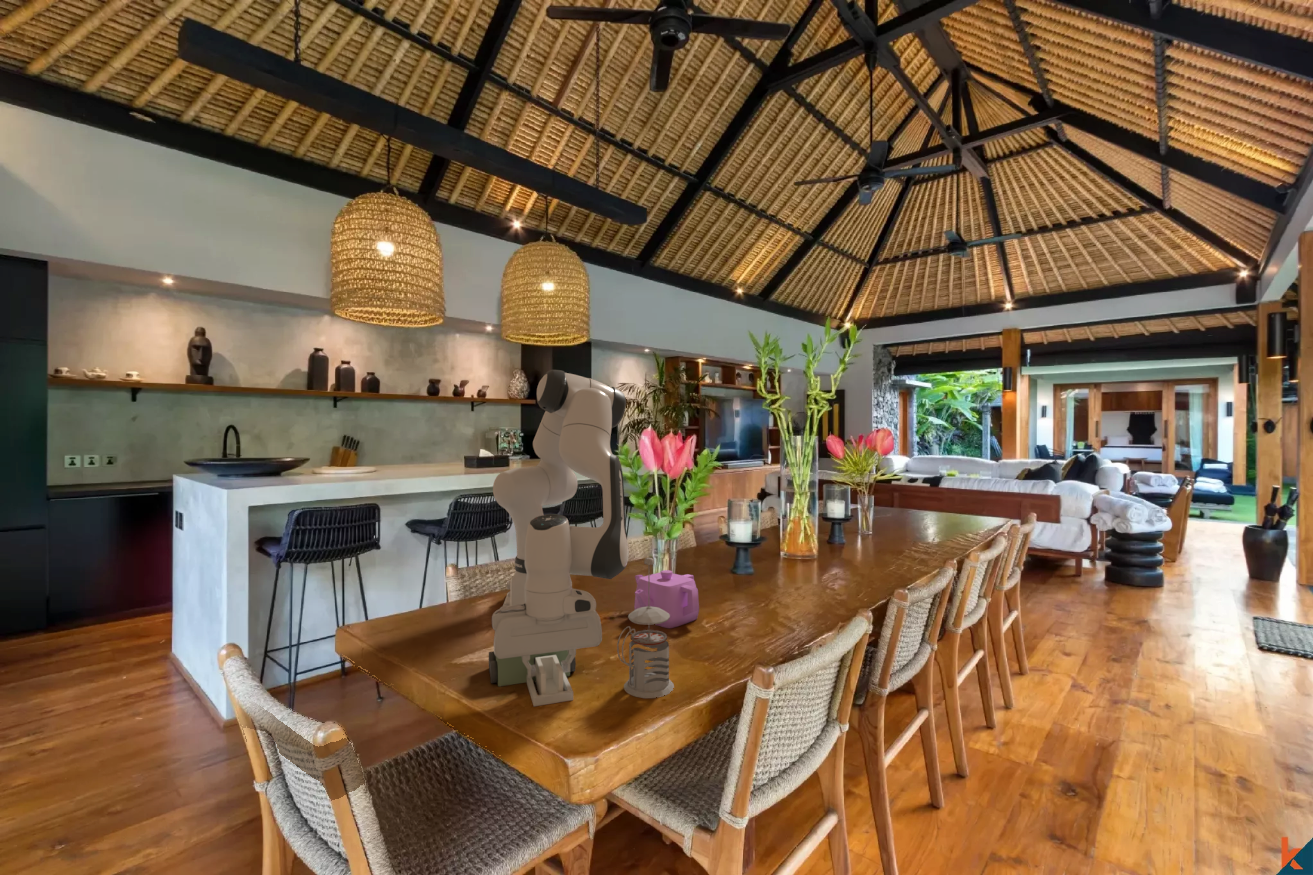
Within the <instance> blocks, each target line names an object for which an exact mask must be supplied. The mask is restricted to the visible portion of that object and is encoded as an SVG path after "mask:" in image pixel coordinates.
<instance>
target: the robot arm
mask: <svg viewBox="0 0 1313 875" xmlns="http://www.w3.org/2000/svg"><path fill="white" fill-rule="evenodd" d="M536 402H537V404H538V406H539V408H540V409H541V410H544V411H545V412H544V414H543V415H542V418H541V422H540V423H539V426H538V428H537V431H536V433H535V436H534V438H533V441H532V448H533V450H534V453H535V455H536V456H537V457H538V458H539V459H540V461H539V462H538V464H537V465H536V466H525V467H514V468H511V469H507V470H505V471H501V472H500V473H499V474H497V476H496V477H495V479H494V482H493V485H492V493H493V497H494V499H495V501H496V503H497V504H498V505H499V506H500V507H501V508H503V509H505V511H506V512H507V513H508V514H509V516H510V517H511V518H510V519H511V520H512V522H513V525H514V529H515V539H516V556H515V557H514V558H515V559H514V570H515V572H514V574H513V576H512V577H511V579H510V580H507V581H506V589H507V590H510V591H508V592H507V594H506V597H505V599H504V602H503V605H502V606H500V608H499V609H497V610H495V611H494V612H493V613H492V615H491V627H492V629H493V630H494V637H493V651H494V654H495V656H496V657H497V658H498V659H504V658H512V657H519V656H521V658H522V662H523V663H524V665H525V666H526V668H527V676H528V678H531V677H536V667H535V665H530V663H529V662H528V661H529V660H530V655H534V654H542V653H549V652H557V651H564V650H567V652H568V656H567V657H566V659H565V660H564V661H561V665H562V666H561V667H562V670H563V673H565V672H570V663H571V662H572V660H573V659H574V657H575V658H576V655H577V650H578V649H584V648H593V647H598V646H599V645H600V644H601V643H602V641H603V631H602V623H601V617H600V615H599V613H598V612H597V611H596V610H597V602H596V599H595V598H594V596H593V595H592V594H591V593H589V592H588V591H585V590H582V589H577V588H573V582H572V579H571V575H576V576H589V577H595V578H599V579H606V580H612V579H613V578H615V577H617V576H618V575H619V574H621V573H622V572H623V571H624V570H625V569H626V567H627V565H628V561H629V544H628V537H627V536H628V535H627V527H626V507H625V486H624V475H623V468H622V463H621V461H620V458H619V457H618V456H617V455H615V454H613V452H612V448H611V437H612V436H611V434H612V429H613V428H615V427H617V426H618V425H619V424H620V423H621V422H622V420H623V418H624V417H625V416H624V415H625V412H626V409H627V408H626V406H627V399H626V395H625V393H624V392H623V391H621V390H619V389H618V388H616V387H614V386H610V385H607V384H605V383H604V382H601V381H598V380H597V379H593V378H590V377H585V376H581V375H578V374H573V373H570V372H569V373H567V372H565V371H564V370H560V369H550V370H548V371H546V372H545V373H544V374H543V377H542V378H541V379H540V380H539V382H538V385H537V388H536ZM575 473H577V474H578V475H581V476H583V477H585V478H587V479H589V480H592V481H595V482H596V483H597V484H599V485H601V486H600V487H601V489H602V514H603V515H602V516H603V517H602V518H603V520H602V521H603V523H602V524H601V525H600V526H598V527H597V526H596V527H592V526H591V527H590V526H576V525H570V524H569V523H570V522H569V520H568V518H567V517H566V516H565V515H562V514H556V513H548V514H544V511H543V506H550V505H556V504H560V503H563V502H565V501H568V500H570V499H572V498H573V497H574V496H575V494H576V493H577V490H578V484H579V483H578V482H579V481H578V477H577V475H576V474H575ZM570 673H571V672H570Z"/></svg>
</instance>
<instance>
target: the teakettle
mask: <svg viewBox="0 0 1313 875" xmlns="http://www.w3.org/2000/svg"><path fill="white" fill-rule="evenodd" d="M634 578H635V582H636V590H635V592H634V595H635V597H634V607H633V608H634V610H635V609H638V608H641V607H647V606H648V575H644V576H643V574H637V575H635V576H634ZM699 604H700V602H699V590H698V588H697V584H696V581H695V576H694V575H693V574H688V573H687V574H677V573H673V571H672V570H669V569H664V570H661V571H660V572H655V573H652V574H650V585H649V606H651V607H658V608H660V609H662V610H664V611H666V612H667V613H669V615H670V618H669V619H668V620H667V621H666V622H663V623H660V624H655V626H658V627H662V628H665V629H673V628H677V627H680V626H683V625H686V624H688V623H689V624H690V623H691V622H693V621H695V620H697V619H698V617H699V612H700V605H699Z"/></svg>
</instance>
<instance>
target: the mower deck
mask: <svg viewBox="0 0 1313 875" xmlns="http://www.w3.org/2000/svg"><path fill="white" fill-rule="evenodd" d="M550 655H556V656H557V658H558V661H559V663H560V665H561V661H564V660H565V659H566V657H567V656H568V652H567V650H564V651H557V652H549V653H542V654H534V655H530V660H529V661H528V662H529V663H530V665H535V667H536V662H535V657H543V656H550ZM576 665H577V664H576V656H575V657H574V659H573V660H572V662H571V663H570V672H565V673H563V692H556V693H550V694H544V695H539V694H538V692H537V690H536V689H537V688H536V685H535V684H534V682H536V677H531V678H528V676H527V668H526V666H525V665H524V663H523V662H522V658H521V656H519V657H512V658H504V659H498V658H497V657H496V656H495V654H494V650H493V651H488V672H489V675H490V676H489V678H490V684H495V683H497V687H504V686H505V687H506V686H511V685H518V684H523V683H526V685H527V689H528V692H529V695H530V699H531V701H532V705H533V707H539V706H545V705H551V704H556V703H563V702H569V701H573V700H574V690H573V689H572V686H571V683H570V682H569V679H568V677H570V676H571V673H572V672H575V671H576ZM561 666H562V665H561Z"/></svg>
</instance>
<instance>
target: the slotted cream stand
mask: <svg viewBox="0 0 1313 875" xmlns="http://www.w3.org/2000/svg"><path fill="white" fill-rule="evenodd" d="M535 662H536V681H535V687H536V689H537V691H538V692H537V693H538V695H544V694H550V693H556V692H563V691H564V688H563V670H562V667H561V665H560V663H559V661H558V658H557V656H556V655H550V656H543V657H535Z"/></svg>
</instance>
